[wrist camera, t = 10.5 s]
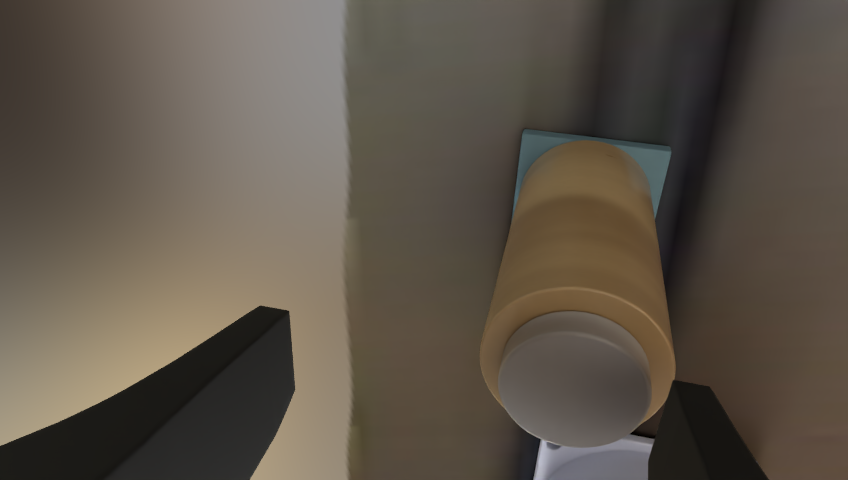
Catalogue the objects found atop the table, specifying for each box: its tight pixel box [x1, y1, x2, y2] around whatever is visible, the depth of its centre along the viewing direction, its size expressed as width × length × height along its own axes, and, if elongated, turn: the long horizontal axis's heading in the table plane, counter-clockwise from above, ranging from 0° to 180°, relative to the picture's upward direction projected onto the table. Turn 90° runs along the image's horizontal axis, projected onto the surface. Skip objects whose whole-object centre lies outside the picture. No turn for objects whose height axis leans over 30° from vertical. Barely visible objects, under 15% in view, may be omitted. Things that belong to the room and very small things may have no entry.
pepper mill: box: [480, 140, 676, 448], centre depth 17 cm, size 4×4×9 cm
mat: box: [511, 129, 671, 223], centre depth 22 cm, size 9×4×1 cm, turn 177°
